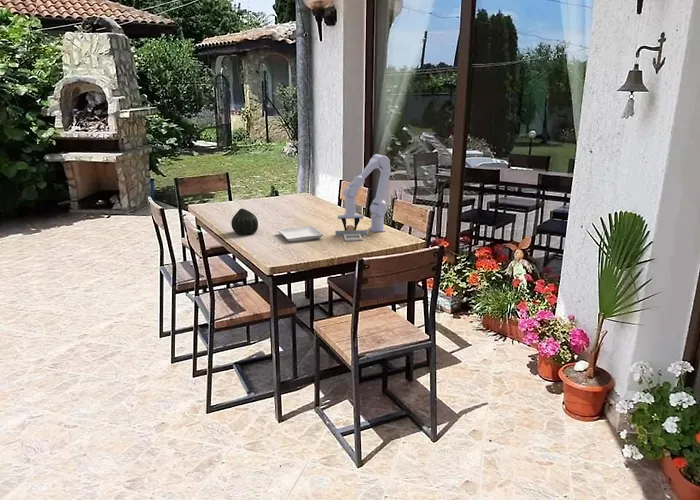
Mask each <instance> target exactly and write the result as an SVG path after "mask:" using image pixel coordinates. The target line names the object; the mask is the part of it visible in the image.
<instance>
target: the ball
mask: <svg viewBox="0 0 700 500" xmlns="http://www.w3.org/2000/svg"><path fill="white" fill-rule="evenodd" d="M353 230H355V229H354V225H352V224H349V225H346V231H353Z"/></svg>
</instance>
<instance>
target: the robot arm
mask: <svg viewBox="0 0 700 500" xmlns="http://www.w3.org/2000/svg"><path fill="white" fill-rule="evenodd" d="M390 163H391V159H390V158H389V157H388V156H386V155H382V154H378V153H375V154H373V155H372V157H371V158H369V162H368V163H367V164H366V166H365V167H364V169H363V170H362V172H361V173H360V174H359V175H357V176H355V177H353V180H352V181H351V182H350V183H349V184H348V186H346V187H345V188H344V190H343V194H344V197H345V200H344V201H345V205H344V206H345V207H344V208H345V210H344V211H345V212H344V213H345V214H337V220H341V222H342V225H343V229H344V231H346V227H347V220H348V219H349V220H351V219H352V220H354V221H353V222H354V224H353V227H354V229H355V230H357V228H358V224H359V223H360V219H364V214H359V213H358V214H356V196H358V192H359V190H360V189H361V187H362V186H364V184H365V183H366V181H365V180H366V178H367V177H368V176H369V175H370V174H371V173H372V172H373V171H374V170H375V169H378V170H379V171H380V174H379V179H378V183H377V184H378V185H377V189H376V193H375V197H374V199H372V202H371V204H370V206H369V211H370V214H371V217H370V219H371V221H370V226H369V229H370V231H371V232H373V233H374V232H377V233H379V232H386V229H385V222H384V221H385V216H386V214H387V208H386V207H387V203H386V195H387V191H388V190H387V189H388V185H389V181H390V175H391V172H392V169H391V164H390Z"/></svg>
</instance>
